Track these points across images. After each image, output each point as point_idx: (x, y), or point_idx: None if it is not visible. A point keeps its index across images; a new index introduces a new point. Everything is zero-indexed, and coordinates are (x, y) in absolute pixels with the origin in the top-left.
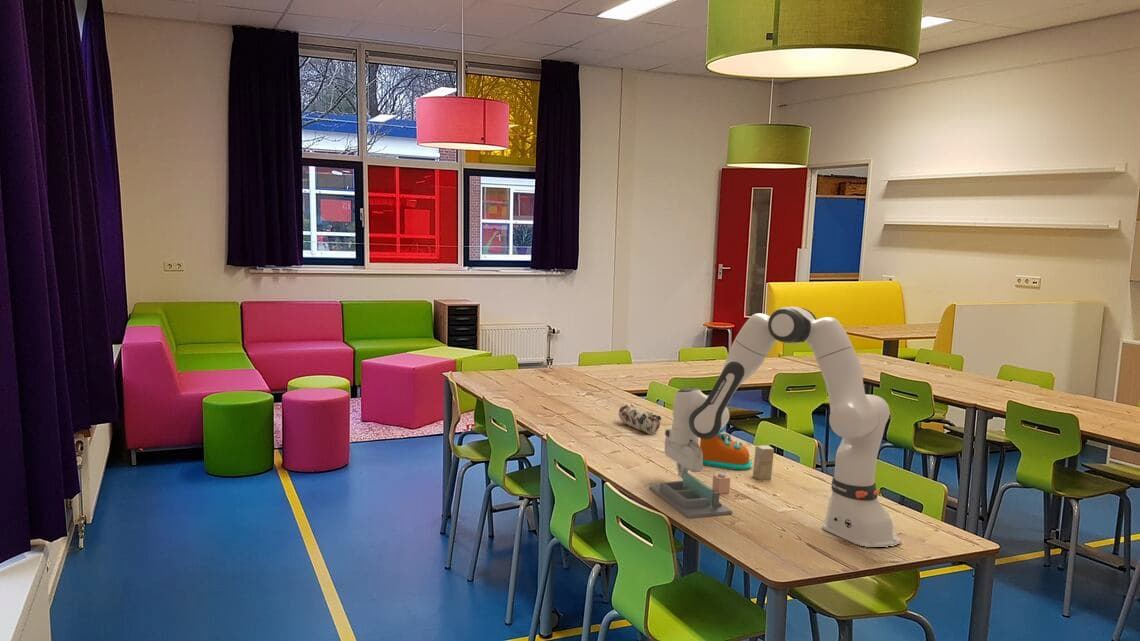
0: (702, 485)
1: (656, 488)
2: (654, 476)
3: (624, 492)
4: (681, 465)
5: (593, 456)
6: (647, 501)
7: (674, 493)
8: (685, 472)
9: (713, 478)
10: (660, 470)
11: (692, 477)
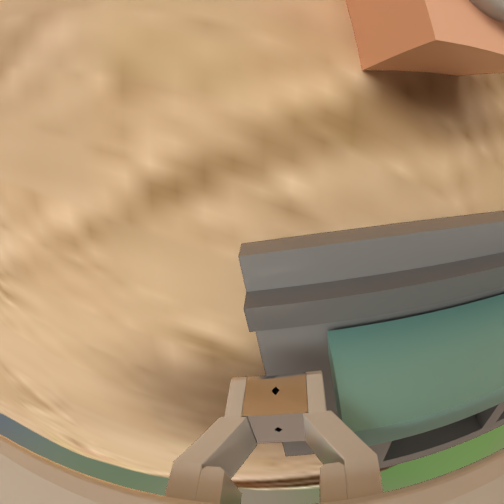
0: None
1: None
2: (96, 379)
3: (311, 482)
4: (231, 481)
5: (10, 417)
6: None
7: (493, 426)
8: (362, 440)
9: (424, 51)
10: (9, 315)
11: (497, 399)
